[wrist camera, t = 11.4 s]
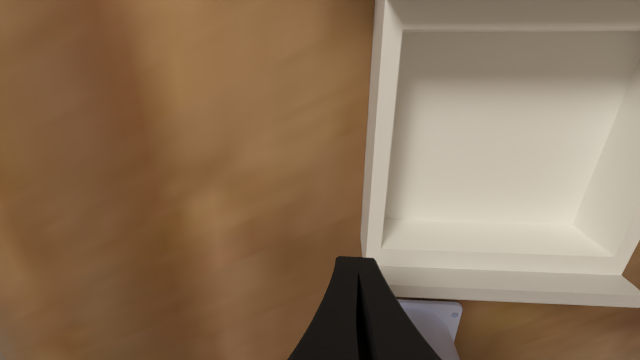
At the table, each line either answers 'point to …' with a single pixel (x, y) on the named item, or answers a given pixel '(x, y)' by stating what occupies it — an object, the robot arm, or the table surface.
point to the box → (504, 150)
